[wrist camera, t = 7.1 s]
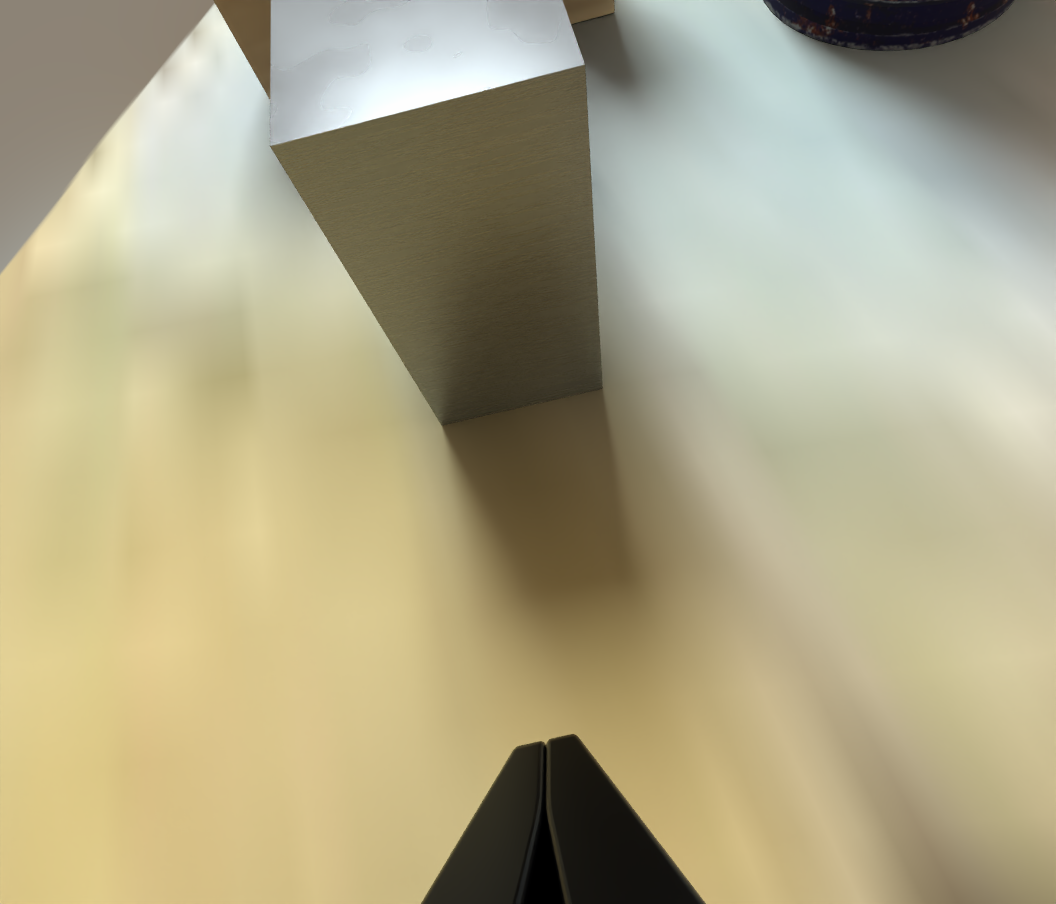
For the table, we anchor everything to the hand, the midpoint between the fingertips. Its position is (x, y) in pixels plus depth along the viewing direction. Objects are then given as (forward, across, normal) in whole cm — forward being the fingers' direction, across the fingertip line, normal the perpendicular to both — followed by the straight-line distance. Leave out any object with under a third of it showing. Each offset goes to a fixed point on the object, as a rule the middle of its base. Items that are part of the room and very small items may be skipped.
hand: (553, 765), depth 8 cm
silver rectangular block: (+19, +1, +9) cm, 21 cm away
